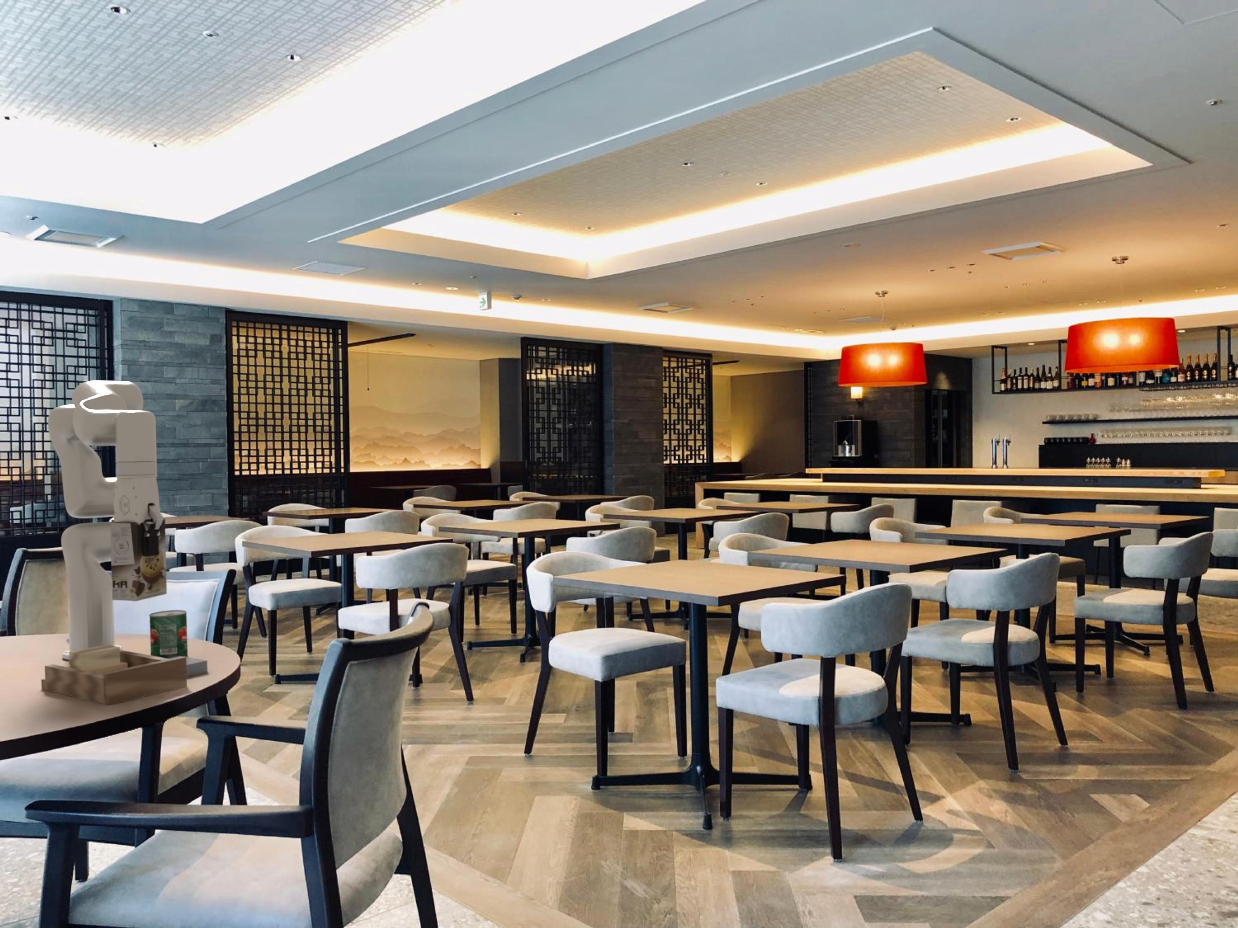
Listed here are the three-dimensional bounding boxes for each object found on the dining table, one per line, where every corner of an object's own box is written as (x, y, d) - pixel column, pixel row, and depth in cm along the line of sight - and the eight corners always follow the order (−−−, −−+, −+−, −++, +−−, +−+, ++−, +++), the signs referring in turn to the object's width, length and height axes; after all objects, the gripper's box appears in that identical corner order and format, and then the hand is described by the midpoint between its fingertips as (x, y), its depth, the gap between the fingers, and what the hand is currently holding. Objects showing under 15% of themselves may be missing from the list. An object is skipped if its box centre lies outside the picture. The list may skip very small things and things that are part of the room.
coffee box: (138, 601, 197) (135, 522, 196) (110, 600, 198) (108, 521, 198) (168, 593, 206) (166, 518, 205) (142, 592, 207) (140, 517, 206)
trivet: (146, 674, 211) (146, 662, 211) (180, 666, 218) (180, 655, 218) (173, 679, 206) (173, 667, 206) (207, 671, 213) (207, 660, 213)
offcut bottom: (65, 688, 202) (64, 669, 202) (112, 677, 210) (112, 659, 210) (80, 692, 198) (79, 672, 198) (128, 681, 207) (127, 662, 207)
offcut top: (69, 668, 202) (68, 651, 202) (108, 660, 209) (107, 644, 209) (81, 671, 200) (80, 654, 199) (120, 663, 206) (119, 647, 206)
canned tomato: (144, 660, 225) (143, 613, 225) (178, 654, 231) (177, 608, 231) (159, 665, 220) (158, 617, 220) (194, 658, 226) (192, 612, 226)
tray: (41, 688, 200) (40, 659, 200) (119, 671, 214) (118, 644, 214) (108, 705, 187) (107, 674, 186) (187, 685, 200) (186, 657, 200)
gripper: (96, 470, 203) (99, 553, 203) (142, 471, 193) (144, 559, 194) (132, 468, 209) (134, 549, 210) (177, 470, 199) (179, 555, 200)
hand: (139, 553), depth 202 cm, fingers closed on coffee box, 8 cm apart
